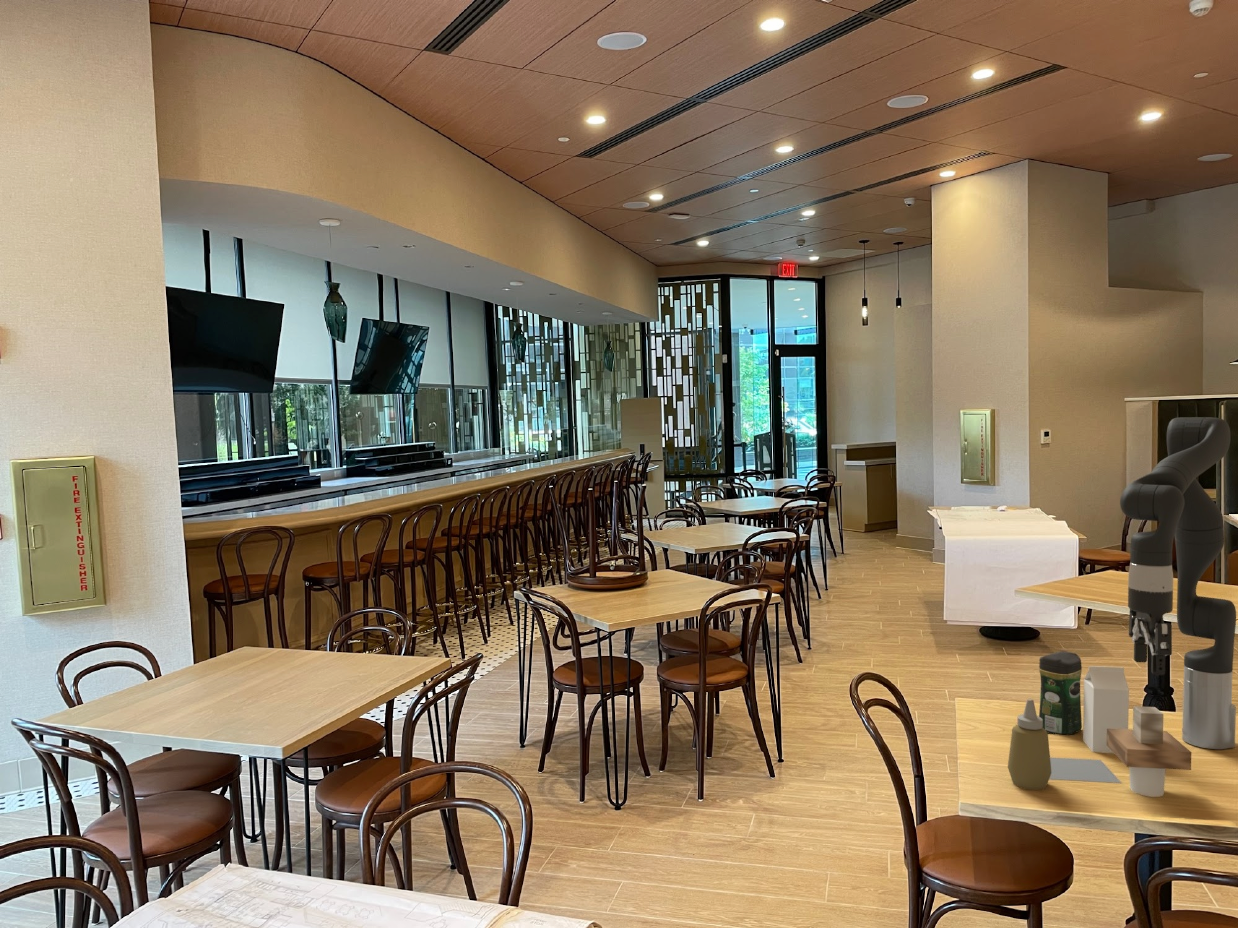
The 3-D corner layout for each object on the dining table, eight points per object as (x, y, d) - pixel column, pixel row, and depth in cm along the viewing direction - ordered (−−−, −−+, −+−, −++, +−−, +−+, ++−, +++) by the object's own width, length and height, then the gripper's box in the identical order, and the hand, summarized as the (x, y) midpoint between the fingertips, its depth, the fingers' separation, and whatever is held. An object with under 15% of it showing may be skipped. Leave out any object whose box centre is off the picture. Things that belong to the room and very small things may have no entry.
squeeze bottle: (1001, 779, 185) (1001, 693, 184) (1040, 778, 185) (1041, 693, 184) (1017, 795, 177) (1018, 706, 176) (1058, 795, 177) (1059, 706, 175)
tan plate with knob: (1166, 747, 181) (1167, 701, 180) (1191, 769, 170) (1192, 721, 169) (1106, 744, 183) (1107, 699, 182) (1127, 766, 172) (1128, 718, 171)
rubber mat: (1100, 763, 192) (1100, 759, 192) (1121, 786, 180) (1121, 782, 180) (1031, 759, 195) (1031, 756, 195) (1047, 782, 183) (1047, 778, 183)
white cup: (1152, 786, 180) (1153, 738, 180) (1174, 801, 173) (1175, 750, 173) (1120, 787, 180) (1121, 738, 179) (1140, 801, 173) (1141, 751, 173)
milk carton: (1127, 757, 195) (1129, 672, 194) (1092, 755, 197) (1094, 670, 195) (1116, 745, 202) (1118, 662, 201) (1082, 743, 204) (1084, 661, 202)
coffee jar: (1054, 720, 218) (1055, 646, 217) (1086, 730, 212) (1088, 653, 211) (1032, 729, 213) (1033, 652, 212) (1064, 739, 206) (1065, 660, 205)
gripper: (1187, 594, 166) (1186, 679, 167) (1156, 579, 180) (1154, 658, 181) (1144, 593, 168) (1142, 678, 169) (1116, 579, 182) (1114, 657, 183)
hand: (1148, 667), depth 175 cm, fingers open, 8 cm apart
